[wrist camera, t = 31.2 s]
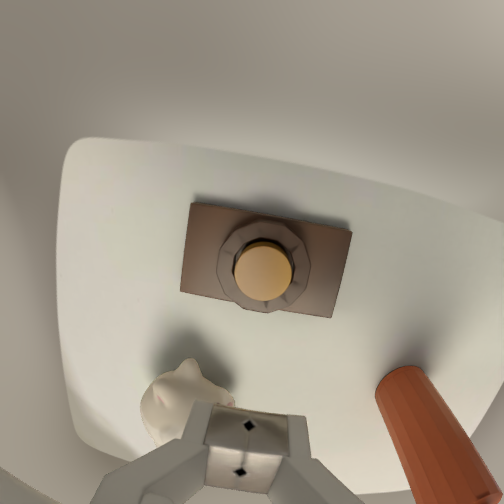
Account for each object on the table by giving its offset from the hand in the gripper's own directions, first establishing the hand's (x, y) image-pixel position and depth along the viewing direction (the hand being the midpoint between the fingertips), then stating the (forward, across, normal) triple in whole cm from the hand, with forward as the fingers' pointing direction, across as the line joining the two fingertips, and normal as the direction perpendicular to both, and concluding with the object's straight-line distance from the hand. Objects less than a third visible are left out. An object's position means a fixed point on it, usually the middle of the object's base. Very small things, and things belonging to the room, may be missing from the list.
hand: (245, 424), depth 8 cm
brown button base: (+19, 0, 0) cm, 19 cm away
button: (+16, 0, 0) cm, 16 cm away
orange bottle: (+19, -17, +11) cm, 28 cm away
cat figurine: (+19, +4, +16) cm, 26 cm away
